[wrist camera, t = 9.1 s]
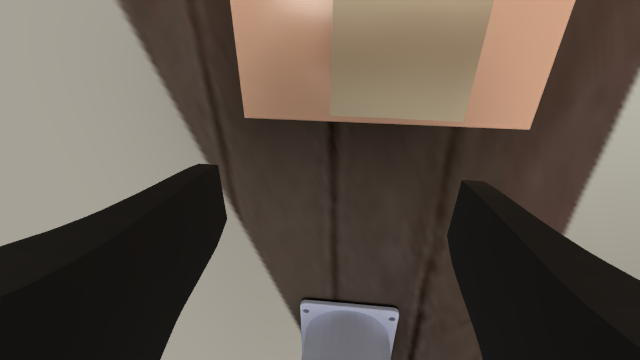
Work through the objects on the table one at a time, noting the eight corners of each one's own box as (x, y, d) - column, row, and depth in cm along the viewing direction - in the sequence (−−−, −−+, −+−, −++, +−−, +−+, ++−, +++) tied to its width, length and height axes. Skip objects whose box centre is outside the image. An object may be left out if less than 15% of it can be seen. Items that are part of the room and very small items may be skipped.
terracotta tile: (520, 120, 18) (529, 129, 17) (250, 110, 20) (244, 117, 19) (602, -124, 13) (622, -132, 12) (225, -115, 14) (215, -122, 13)
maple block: (432, 75, 16) (463, 122, 11) (339, 72, 17) (329, 115, 12) (452, -34, 14) (503, -39, 9) (344, -36, 14) (334, -40, 9)
